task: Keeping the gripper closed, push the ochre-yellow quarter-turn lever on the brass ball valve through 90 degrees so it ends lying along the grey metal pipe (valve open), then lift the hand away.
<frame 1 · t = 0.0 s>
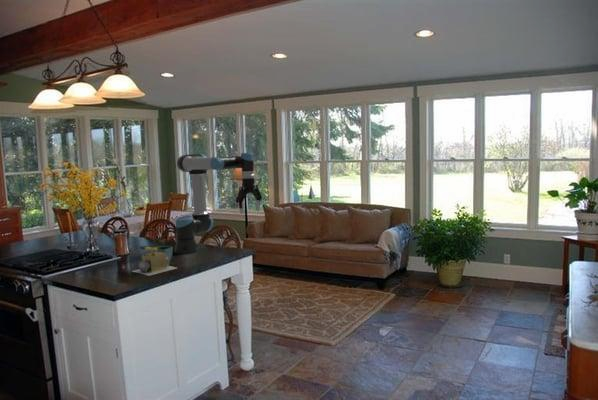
hand: (250, 212, 296), 28 cm above the counter, fingers open, 13 cm apart
lever: (148, 248, 275), point 12 cm above the counter, hinge at 0.0°
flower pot: (164, 262, 293), on the counter
valve: (154, 269, 273), resting on mat
mat: (155, 270, 273), on the counter
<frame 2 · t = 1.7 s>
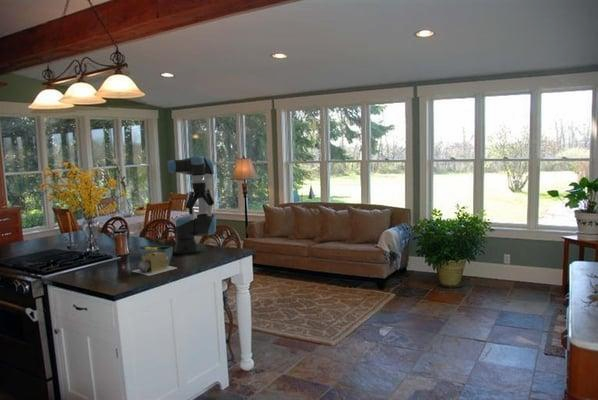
hand: (201, 217, 285), 27 cm above the counter, fingers open, 13 cm apart
nothing on the counter moved.
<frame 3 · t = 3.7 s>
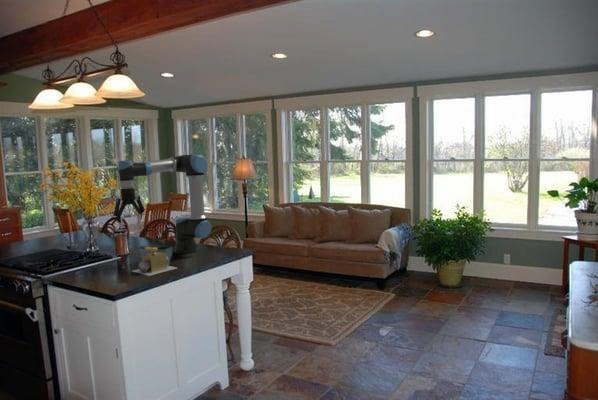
hand: (130, 226, 270), 26 cm above the counter, fingers open, 11 cm apart
nothing on the counter moved.
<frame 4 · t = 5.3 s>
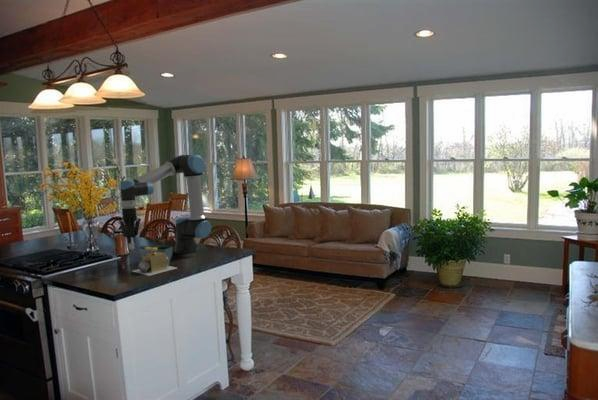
hand: (131, 248, 272), 13 cm above the counter, fingers closed
nothing on the counter moved.
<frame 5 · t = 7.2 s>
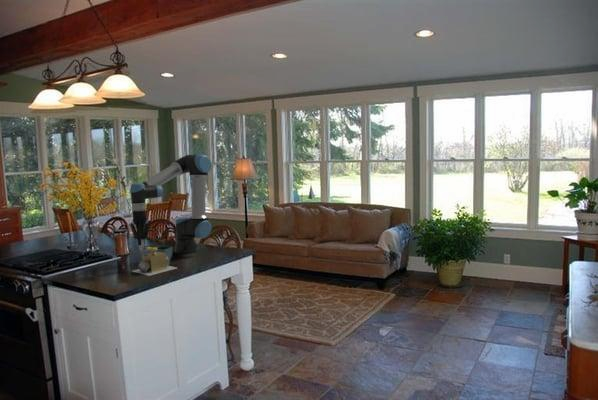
hand: (141, 250, 277), 11 cm above the counter, fingers closed
lever: (149, 248, 275), point 12 cm above the counter, hinge at 3.8°, touching gripper
everything else where it was.
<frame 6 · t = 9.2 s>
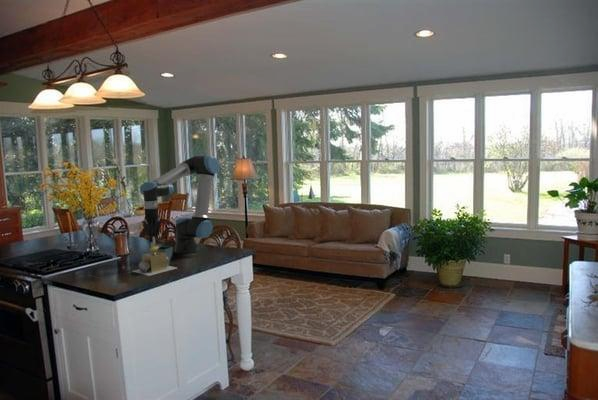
hand: (153, 247, 281), 12 cm above the counter, fingers closed
lever: (155, 247, 277), point 12 cm above the counter, hinge at 50.0°, touching gripper
everything else where it was.
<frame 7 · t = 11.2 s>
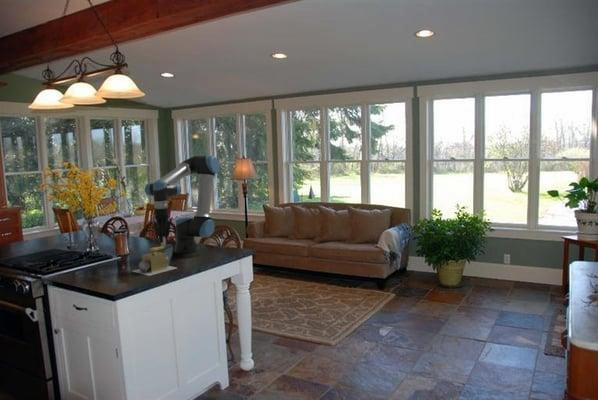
hand: (163, 247, 280), 11 cm above the counter, fingers closed
lever: (160, 247, 275), point 12 cm above the counter, hinge at 89.6°, touching gripper
everything else where it was.
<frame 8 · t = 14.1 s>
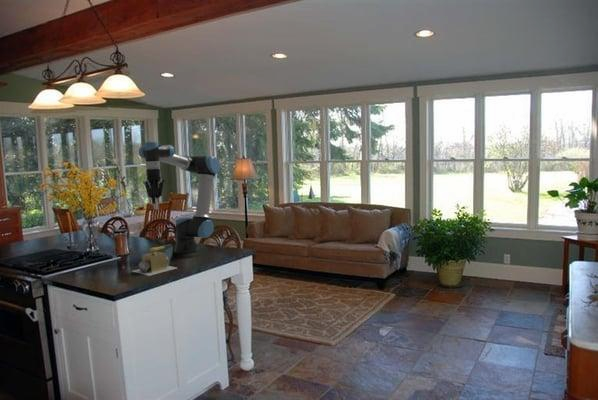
hand: (156, 209, 278), 34 cm above the counter, fingers closed
lever: (160, 247, 275), point 12 cm above the counter, hinge at 89.6°
everything else where it was.
at the end: lever at +90° (first picture: +0°); lever touching nothing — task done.
